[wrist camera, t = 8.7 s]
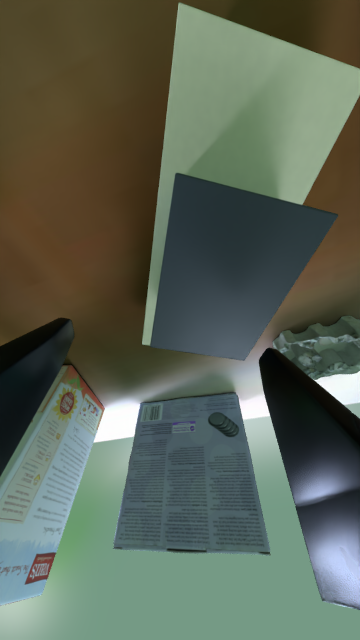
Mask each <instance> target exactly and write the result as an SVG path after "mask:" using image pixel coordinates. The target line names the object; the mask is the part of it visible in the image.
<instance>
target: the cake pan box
mask: <svg viewBox="0 0 360 640" xmlns="http://www.w3.org/2000/svg"><path fill="white" fill-rule="evenodd" d="M113 549H121V550H140V551H159V552H160V551H161V552H173V553H227V554H228V553H229V554H259V555H266V556H268V555H269V556H270V555H271V554H270V547H269V542H268V537H267V533H266V528H265V523H264V519H263V514H262V509H261V505H260V500H259V495H258V491H257V485H256V481H255V475H254V471H253V465H252V459H251V454H250V450H249V446H248V442H247V437H246V433H245V429H244V424H243V419H242V414H241V409H240V405H239V400H238V396H237V395H236V393H229V394H221V395H212V396H203V397H197V396H196V397H187V398H179V399H174V400H169V401H160V402H152V403H141V404H140V409H139V414H138V418H137V424H136V429H135V436H134V442H133V447H132V452H131V456H130V460H129V467H128V474H127V479H126V484H125V489H124V493H123V498H122V503H121V508H120V513H119V518H118V523H117V528H116V533H115V538H114V548H113Z"/></svg>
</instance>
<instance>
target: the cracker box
mask: <svg viewBox="0 0 360 640" xmlns="http://www.w3.org/2000/svg"><path fill="white" fill-rule="evenodd" d="M104 409H105V408H104V407H103V406H102V404H101V403H100V402H99V400H98V399H97V398H96V396H95V395H94V394H93V392H92V391H91V390H90V389H89V387H88V386H87V385H86V383H85V382H84V381H83V379H82V378H81V377H80V375H79V374H78V373H77V371H76V370H75V369H74V367H73V366H72V365H62V367H61V370H60V371H59V373H58V375H57V377H56V379H55V381H54V382H53V384H52V386H51V388H50V389H49V391H48V393H47V395H46V397H45V398H44V400H43V402H42V404H41V405H40V407H39V409H38V411H37V413H36V414H35V416H34V418H33V420H32V421H31V423H30V425H29V427H28V429H27V430H26V432H25V434H24V436H23V438H22V439H21V441H20V443H19V445H18V446H17V448H16V450H15V452H14V454H13V455H12V457H11V459H10V461H9V462H8V464H7V466H6V468H5V470H4V471H3V473H2V475H1V477H0V606H1V605H6V604H9V603H14V602H18V601H21V600H25V599H29V598H33V597H36V596H40V595H41V594H42V592H43V590H44V587H45V584H46V581H47V578H48V575H49V572H50V569H51V566H52V563H53V560H54V557H55V554H56V551H57V548H58V545H59V542H60V539H61V537H62V533H63V531H64V528H65V525H66V521H67V519H68V516H69V513H70V510H71V507H72V504H73V501H74V498H75V495H76V492H77V489H78V486H79V483H80V480H81V477H82V474H83V471H84V468H85V465H86V462H87V459H88V456H89V453H90V450H91V448H92V445H93V442H94V439H95V436H96V433H97V430H98V427H99V424H100V421H101V418H102V415H103V412H104Z"/></svg>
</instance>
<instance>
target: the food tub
mask: <svg viewBox="0 0 360 640" xmlns="http://www.w3.org/2000/svg"><path fill="white" fill-rule="evenodd" d="M337 217H338V215H337V214H335V213H331V212H328V211H324V210H320V209H316V208H312V207H308V206H304V205H301V204H297V203H293V202H289V201H285V200H281V199H277V198H274V197H270V196H266V195H262V194H258V193H254V192H250V191H247V190H243V189H239V188H235V187H231V186H227V185H223V184H220V183H216V182H212V181H208V180H204V179H200V178H196V177H193V176H189V175H185V174H181V173H176V174H175V178H174V185H173V192H172V199H171V206H170V212H169V219H168V226H167V233H166V240H165V247H164V254H163V260H162V267H161V274H160V281H159V288H158V295H157V301H156V308H155V315H154V322H153V329H152V336H151V342H150V347H154V348H161V349H168V350H175V351H181V352H188V353H195V354H202V355H209V356H216V357H222V358H229V359H236V360H243V361H244V360H245V359H246V357H247V356H248V354H249V353H250V351H251V350H252V348H253V347H254V345H255V343H256V342H257V340H258V339H259V337H260V336H261V334H262V333H263V331H264V330H265V328H266V326H267V325H268V323H269V322H270V320H271V319H272V317H273V316H274V314H275V313H276V311H277V309H278V308H279V306H280V305H281V303H282V302H283V300H284V299H285V297H286V296H287V294H288V292H289V291H290V289H291V288H292V286H293V285H294V283H295V282H296V280H297V279H298V277H299V275H300V274H301V272H302V271H303V269H304V268H305V266H306V265H307V263H308V262H309V260H310V258H311V257H312V255H313V254H314V252H315V251H316V249H317V248H318V246H319V245H320V243H321V242H322V240H323V238H324V237H325V235H326V234H327V232H328V231H329V229H330V228H331V226H332V225H333V223H334V221H335V220H336V218H337Z"/></svg>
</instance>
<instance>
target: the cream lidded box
mask: <svg viewBox="0 0 360 640" xmlns="http://www.w3.org/2000/svg"><path fill="white" fill-rule="evenodd" d="M359 95H360V69H359V68H356V67H353V66H351V65H348V64H345V63H343V62H340V61H337V60H334V59H332V58H329V57H326V56H324V55H321V54H318V53H315V52H313V51H310V50H307V49H305V48H302V47H299V46H297V45H294V44H291V43H288V42H286V41H283V40H280V39H278V38H275V37H272V36H269V35H267V34H264V33H261V32H259V31H256V30H253V29H250V28H248V27H245V26H242V25H240V24H237V23H234V22H231V21H229V20H226V19H223V18H221V17H218V16H215V15H212V14H210V13H207V12H204V11H202V10H199V9H196V8H193V7H191V6H188V5H185V4H183V3H179V5H178V14H177V24H176V33H175V42H174V52H173V61H172V70H171V80H170V89H169V98H168V107H167V117H166V126H165V135H164V145H163V154H162V163H161V173H160V182H159V191H158V200H157V210H156V219H155V228H154V238H153V247H152V256H151V265H150V275H149V284H148V293H147V303H146V312H145V321H144V331H143V340H142V344H143V345H150V342H151V336H152V329H153V322H154V315H155V308H156V301H157V295H158V288H159V281H160V274H161V267H162V260H163V254H164V247H165V240H166V233H167V226H168V219H169V212H170V206H171V199H172V192H173V185H174V178H175V174H176V173H181V174H185V175H189V176H193V177H196V178H200V179H204V180H208V181H212V182H216V183H220V184H223V185H227V186H231V187H235V188H239V189H243V190H247V191H250V192H254V193H258V194H262V195H266V196H270V197H274V198H277V199H281V200H285V201H289V202H293V203H297V204H301V205H302V204H303V202H304V200H305V198H306V197H307V195H308V193H309V191H310V189H311V187H312V185H313V183H314V181H315V179H316V177H317V176H318V174H319V172H320V170H321V168H322V166H323V164H324V162H325V160H326V158H327V156H328V155H329V153H330V151H331V149H332V147H333V145H334V143H335V141H336V139H337V137H338V135H339V134H340V132H341V130H342V128H343V126H344V124H345V122H346V120H347V118H348V116H349V114H350V113H351V111H352V109H353V107H354V105H355V103H356V101H357V99H358V97H359Z"/></svg>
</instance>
